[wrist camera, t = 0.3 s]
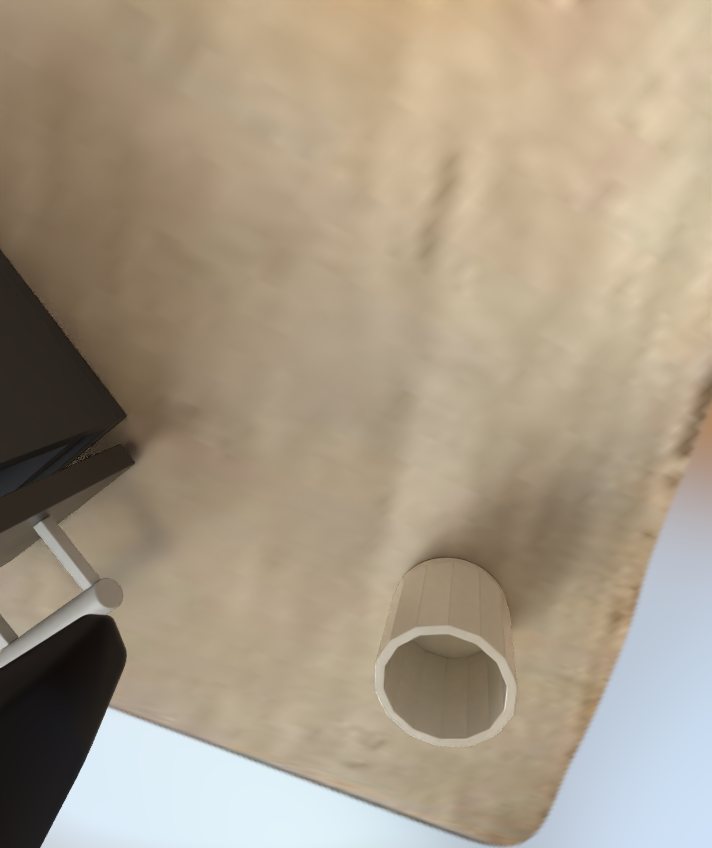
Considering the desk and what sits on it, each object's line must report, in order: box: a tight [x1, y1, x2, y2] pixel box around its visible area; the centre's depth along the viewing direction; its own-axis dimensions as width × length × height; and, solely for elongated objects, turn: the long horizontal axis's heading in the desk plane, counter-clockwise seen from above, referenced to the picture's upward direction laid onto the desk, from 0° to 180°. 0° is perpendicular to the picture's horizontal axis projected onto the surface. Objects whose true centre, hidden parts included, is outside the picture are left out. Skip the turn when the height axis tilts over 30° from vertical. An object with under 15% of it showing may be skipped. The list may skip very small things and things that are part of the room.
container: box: [374, 558, 518, 747], centre depth 24 cm, size 5×6×6 cm
